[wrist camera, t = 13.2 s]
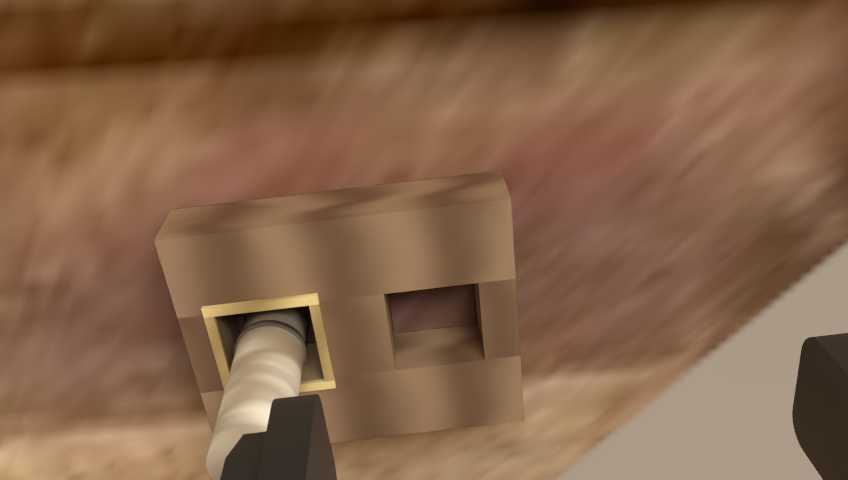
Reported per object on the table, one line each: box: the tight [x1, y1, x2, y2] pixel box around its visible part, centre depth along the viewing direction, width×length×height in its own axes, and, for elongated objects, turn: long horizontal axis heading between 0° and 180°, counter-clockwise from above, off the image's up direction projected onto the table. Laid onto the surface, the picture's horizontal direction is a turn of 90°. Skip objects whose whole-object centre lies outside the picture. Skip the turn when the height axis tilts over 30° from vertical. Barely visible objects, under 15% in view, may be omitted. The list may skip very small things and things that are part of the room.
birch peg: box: [206, 306, 310, 480], centre depth 45 cm, size 4×4×14 cm
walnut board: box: [154, 171, 524, 443], centre depth 49 cm, size 20×16×4 cm
